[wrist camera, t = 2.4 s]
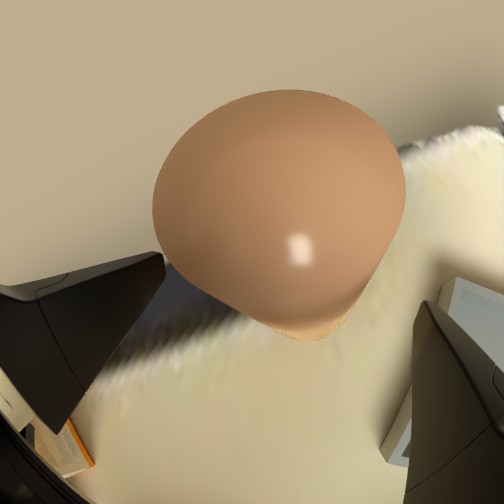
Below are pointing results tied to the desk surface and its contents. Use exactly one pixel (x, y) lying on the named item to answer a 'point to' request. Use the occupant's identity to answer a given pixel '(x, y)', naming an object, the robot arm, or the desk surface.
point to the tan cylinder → (281, 207)
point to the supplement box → (61, 448)
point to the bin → (477, 327)
